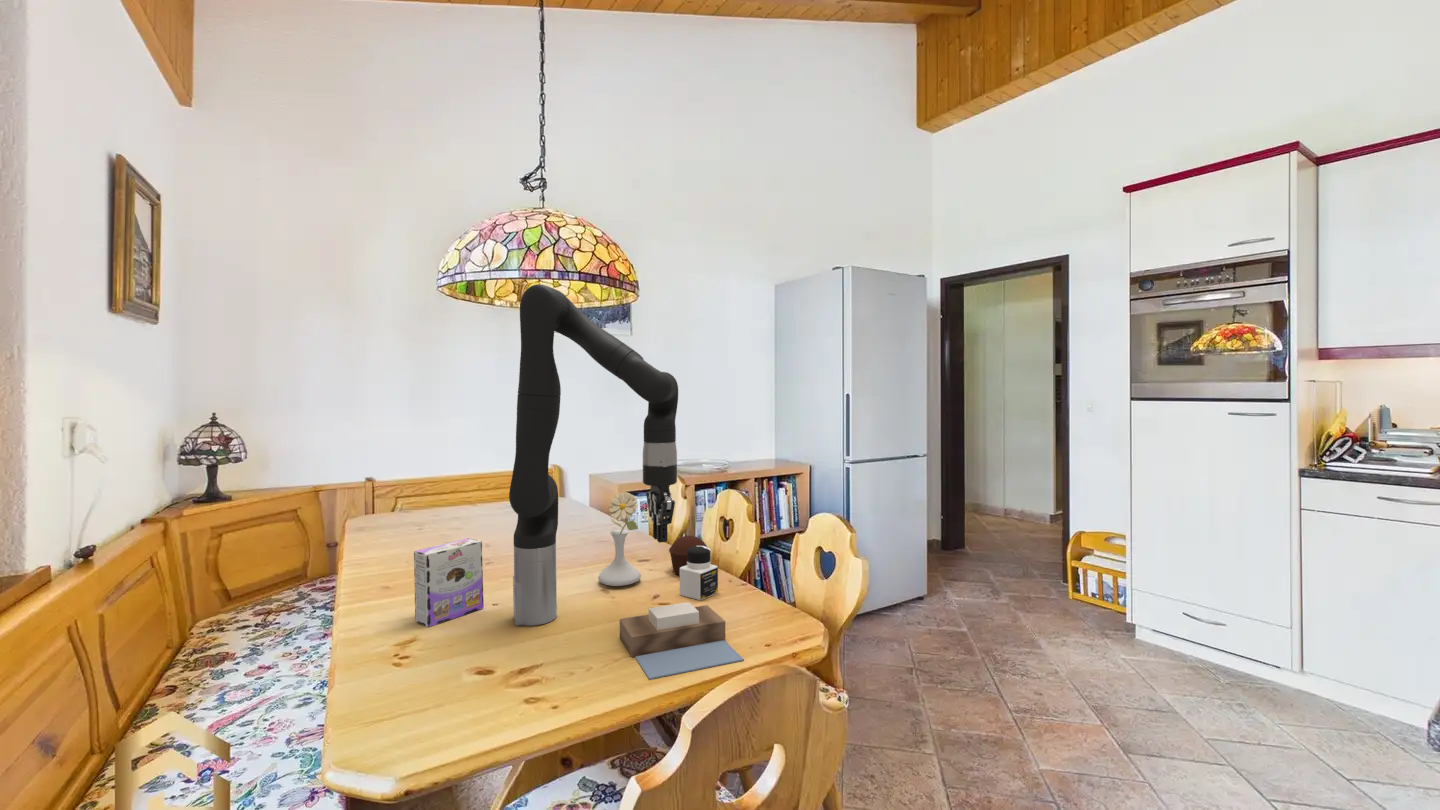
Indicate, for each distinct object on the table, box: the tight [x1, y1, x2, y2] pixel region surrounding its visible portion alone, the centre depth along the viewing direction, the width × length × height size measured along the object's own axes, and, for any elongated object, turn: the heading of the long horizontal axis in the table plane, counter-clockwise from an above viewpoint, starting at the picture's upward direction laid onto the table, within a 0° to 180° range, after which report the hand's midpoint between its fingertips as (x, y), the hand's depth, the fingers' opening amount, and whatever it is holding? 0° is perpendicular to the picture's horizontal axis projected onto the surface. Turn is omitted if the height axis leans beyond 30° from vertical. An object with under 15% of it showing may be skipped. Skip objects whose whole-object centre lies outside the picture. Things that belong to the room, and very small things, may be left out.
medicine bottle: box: [679, 546, 719, 602], centre depth 154 cm, size 7×7×12 cm
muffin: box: [668, 535, 708, 577], centre depth 172 cm, size 12×11×10 cm
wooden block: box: [619, 604, 726, 658], centre depth 127 cm, size 20×10×4 cm, turn 113°
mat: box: [634, 639, 745, 681], centre depth 118 cm, size 19×10×1 cm, turn 113°
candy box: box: [413, 538, 485, 628], centre depth 140 cm, size 14×6×16 cm, turn 145°
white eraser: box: [648, 601, 699, 631], centre depth 126 cm, size 9×6×2 cm, turn 113°
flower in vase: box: [597, 491, 642, 587], centre depth 162 cm, size 13×11×25 cm
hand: (660, 539), depth 134 cm, fingers open, 2 cm apart
